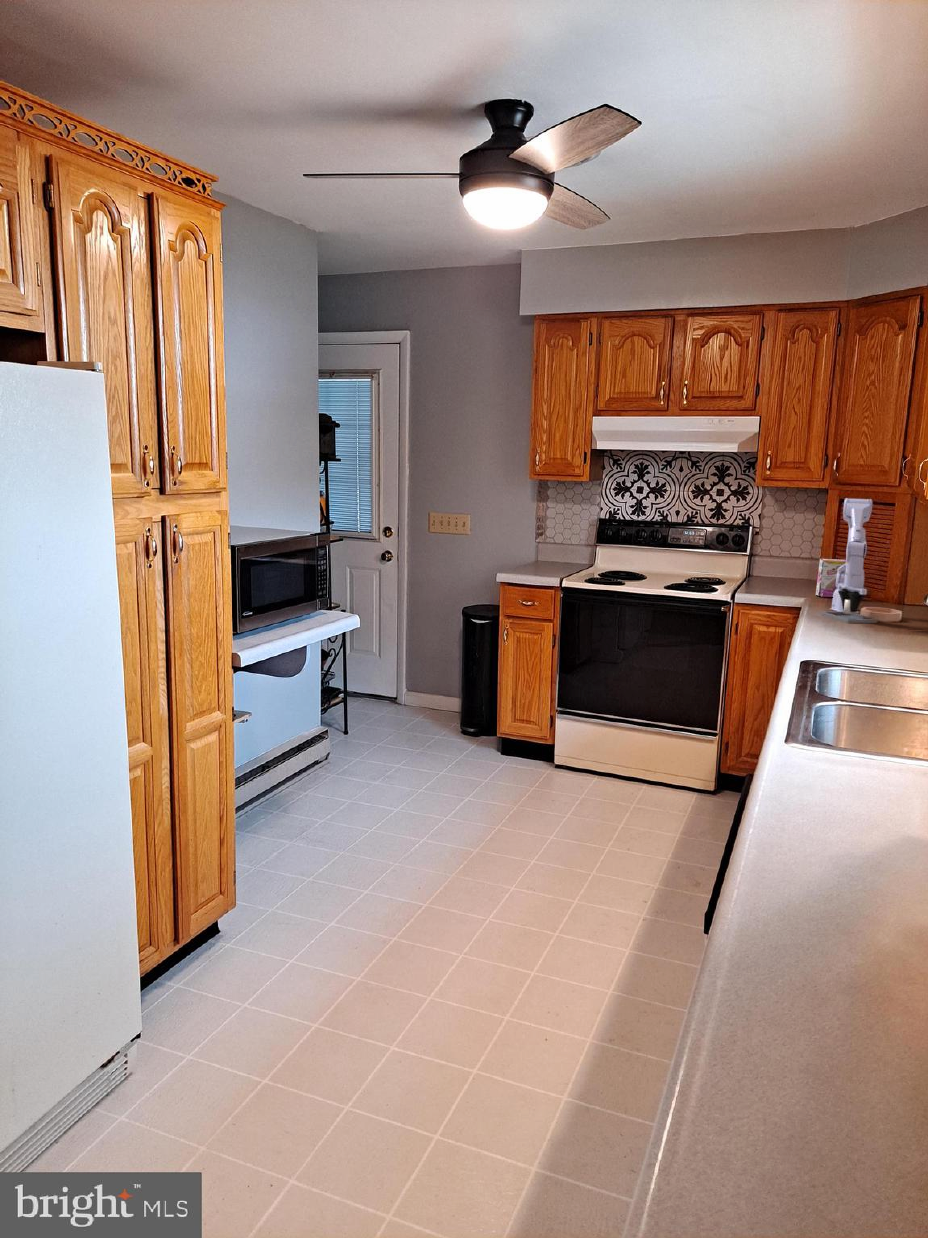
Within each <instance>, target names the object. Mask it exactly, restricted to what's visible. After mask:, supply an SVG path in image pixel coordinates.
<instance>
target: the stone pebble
mask: <svg viewBox="0 0 928 1238" xmlns="http://www.w3.org/2000/svg"><path fill="white" fill-rule="evenodd" d="M844 613H845V614H855V612H850V599H845V604H844Z"/></svg>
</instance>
